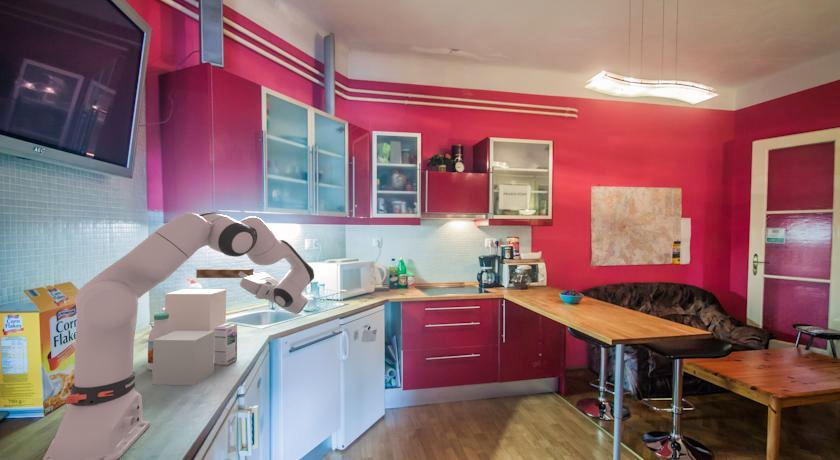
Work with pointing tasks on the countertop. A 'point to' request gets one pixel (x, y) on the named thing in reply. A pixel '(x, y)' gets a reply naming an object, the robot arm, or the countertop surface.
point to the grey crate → (183, 357)
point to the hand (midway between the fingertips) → (242, 272)
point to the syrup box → (225, 344)
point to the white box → (196, 309)
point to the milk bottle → (157, 334)
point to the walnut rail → (221, 273)
